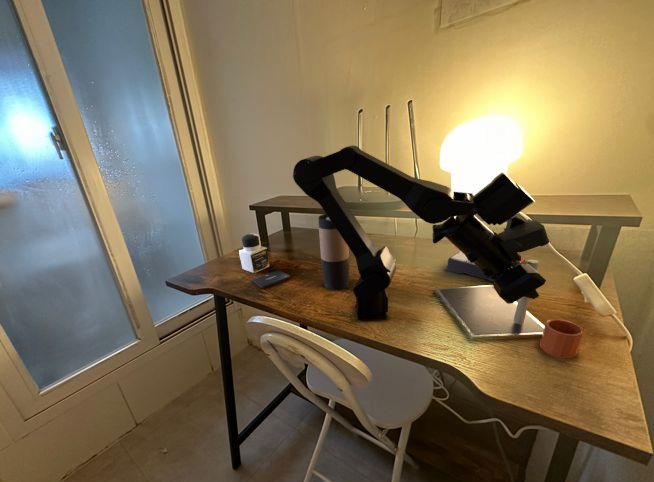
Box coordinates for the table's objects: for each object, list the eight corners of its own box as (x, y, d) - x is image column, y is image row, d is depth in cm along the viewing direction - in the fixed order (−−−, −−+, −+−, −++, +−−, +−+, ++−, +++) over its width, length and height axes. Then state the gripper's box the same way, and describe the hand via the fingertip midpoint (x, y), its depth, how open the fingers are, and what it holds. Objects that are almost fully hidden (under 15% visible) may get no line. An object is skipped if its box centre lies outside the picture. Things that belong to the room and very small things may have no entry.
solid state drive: (252, 281, 96) (252, 279, 96) (278, 271, 100) (278, 269, 100) (262, 288, 91) (262, 286, 90) (290, 277, 95) (290, 275, 94)
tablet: (471, 341, 58) (471, 336, 58) (434, 292, 76) (435, 288, 76) (552, 338, 56) (554, 333, 56) (495, 288, 74) (496, 284, 73)
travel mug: (333, 276, 92) (329, 211, 83) (355, 282, 87) (353, 213, 78) (317, 286, 87) (311, 218, 79) (339, 293, 82) (336, 221, 74)
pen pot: (551, 360, 51) (559, 336, 49) (532, 342, 56) (539, 319, 54) (583, 359, 51) (592, 335, 49) (562, 341, 55) (569, 318, 53)
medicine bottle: (254, 273, 102) (247, 240, 97) (242, 269, 107) (235, 236, 102) (270, 266, 106) (264, 233, 101) (257, 262, 111) (252, 231, 106)
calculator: (511, 272, 72) (448, 256, 84) (506, 287, 74) (445, 270, 86) (528, 258, 78) (467, 244, 89) (524, 272, 80) (464, 257, 91)
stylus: (518, 324, 59) (533, 263, 53) (511, 320, 60) (525, 260, 55) (525, 323, 59) (541, 261, 53) (518, 319, 60) (533, 258, 55)
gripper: (544, 223, 43) (617, 293, 44) (499, 196, 59) (554, 247, 60) (472, 273, 49) (539, 333, 50) (449, 236, 65) (501, 282, 66)
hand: (534, 294), depth 56 cm, fingers closed on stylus, 1 cm apart
